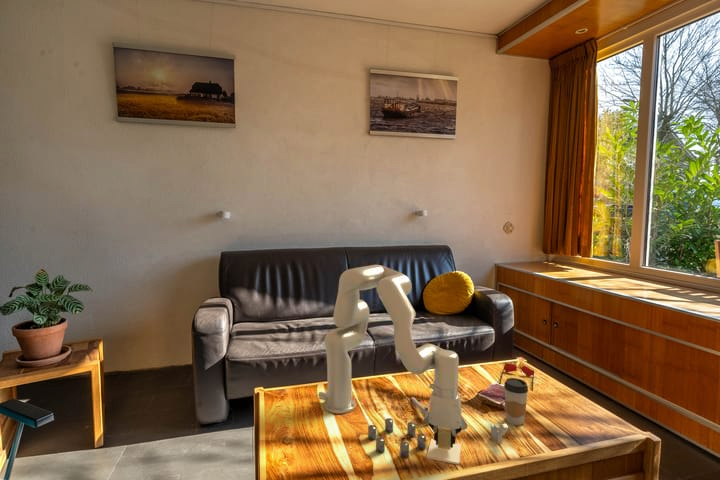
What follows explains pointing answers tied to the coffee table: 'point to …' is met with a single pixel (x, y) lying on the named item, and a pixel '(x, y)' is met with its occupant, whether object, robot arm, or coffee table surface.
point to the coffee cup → (515, 400)
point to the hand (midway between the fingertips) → (444, 443)
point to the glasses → (513, 368)
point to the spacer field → (403, 445)
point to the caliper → (420, 407)
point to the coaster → (444, 453)
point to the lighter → (498, 432)
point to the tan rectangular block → (444, 438)
